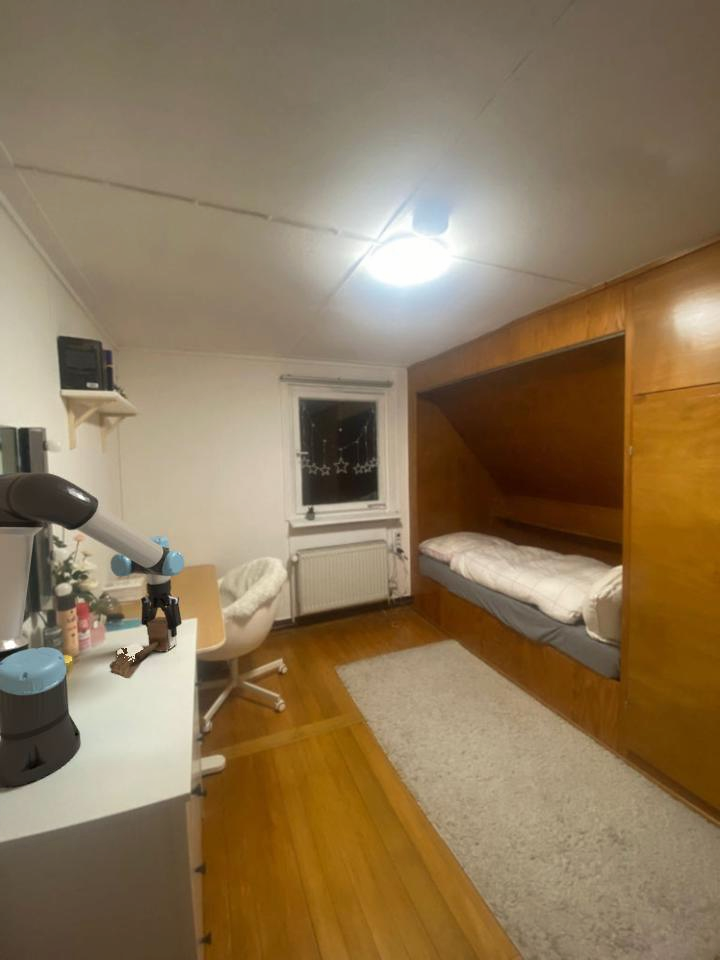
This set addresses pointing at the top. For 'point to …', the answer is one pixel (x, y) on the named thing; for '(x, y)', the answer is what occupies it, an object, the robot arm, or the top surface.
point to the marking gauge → (156, 636)
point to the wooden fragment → (125, 664)
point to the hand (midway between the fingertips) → (162, 644)
